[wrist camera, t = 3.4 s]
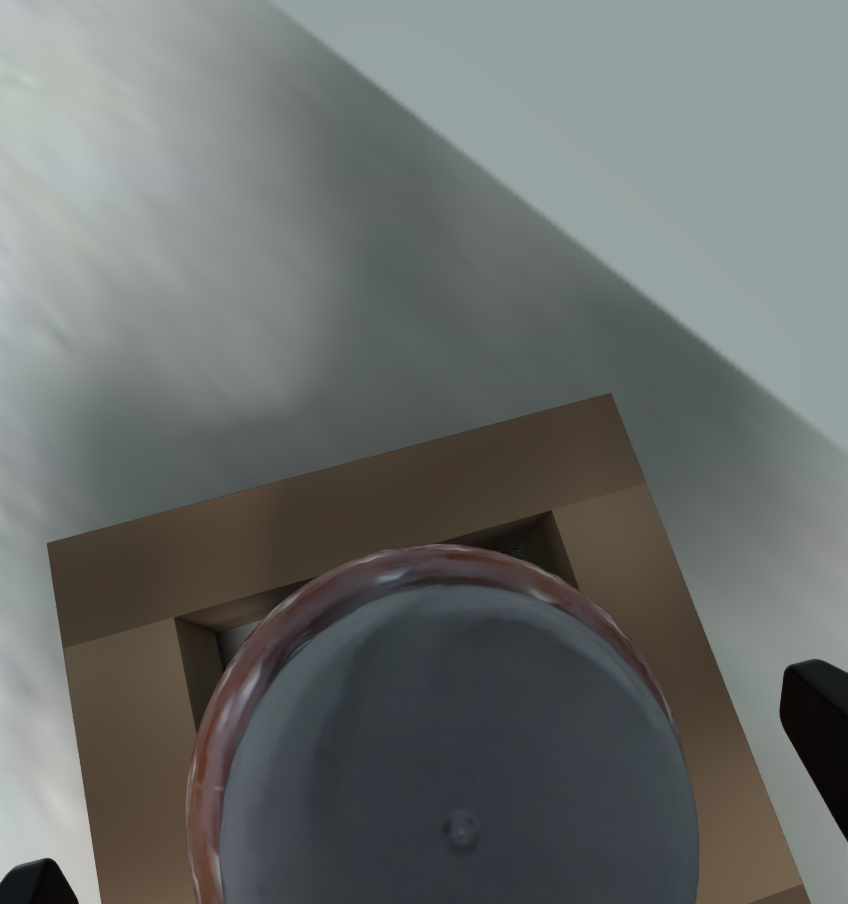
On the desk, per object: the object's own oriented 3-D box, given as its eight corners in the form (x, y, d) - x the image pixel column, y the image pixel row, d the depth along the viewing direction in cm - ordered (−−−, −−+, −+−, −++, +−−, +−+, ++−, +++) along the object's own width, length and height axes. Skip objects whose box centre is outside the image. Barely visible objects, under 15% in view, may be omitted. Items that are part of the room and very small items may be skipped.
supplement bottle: (574, 881, 16) (935, 1241, 5) (290, 925, 16) (76, 1408, 5) (527, 597, 18) (731, 447, 7) (271, 629, 18) (82, 518, 7)
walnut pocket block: (757, 948, 16) (853, 1014, 13) (212, 1152, 15) (159, 1285, 11) (572, 446, 19) (610, 393, 16) (110, 572, 18) (46, 543, 14)
